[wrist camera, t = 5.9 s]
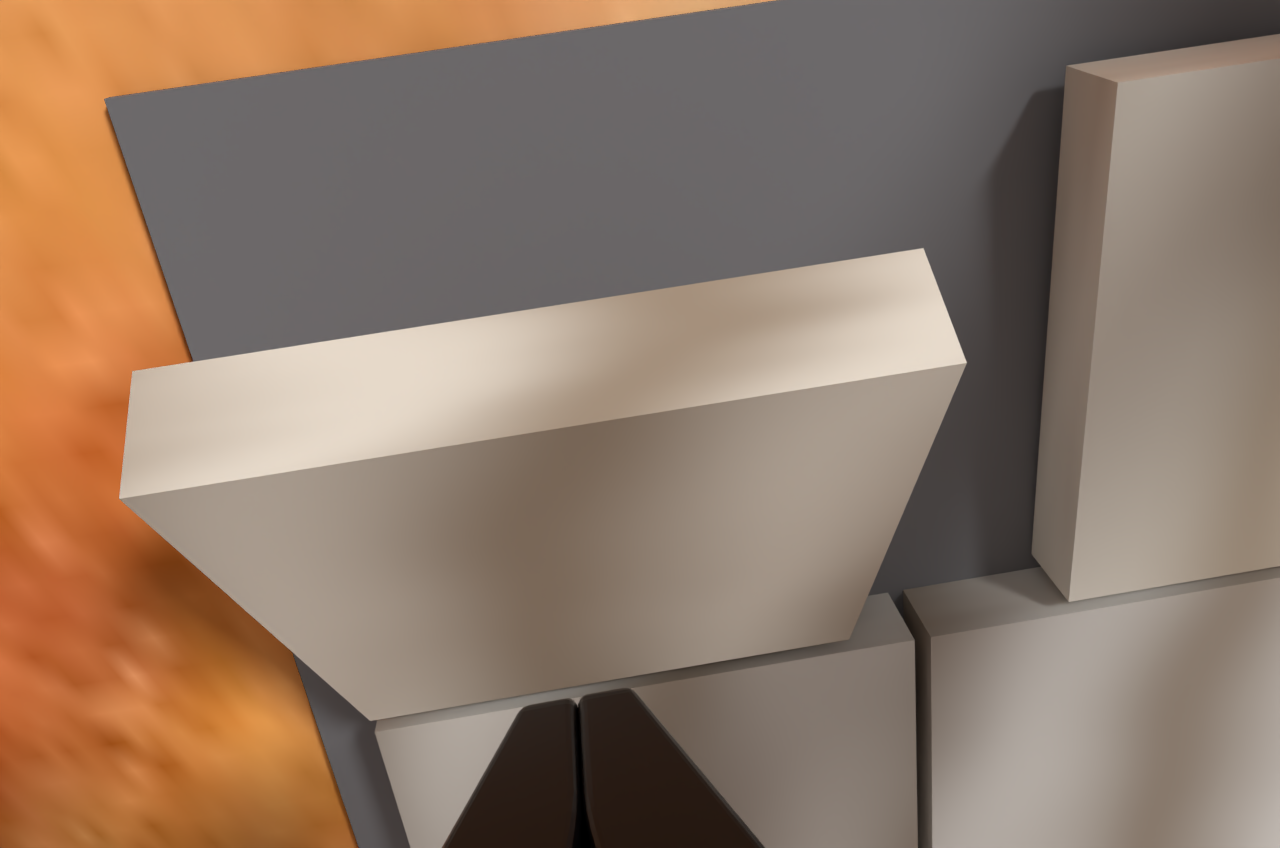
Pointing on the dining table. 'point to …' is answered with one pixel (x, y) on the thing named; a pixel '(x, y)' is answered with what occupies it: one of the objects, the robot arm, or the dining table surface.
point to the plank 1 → (557, 480)
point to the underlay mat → (657, 209)
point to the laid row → (954, 723)
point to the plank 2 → (1164, 323)
